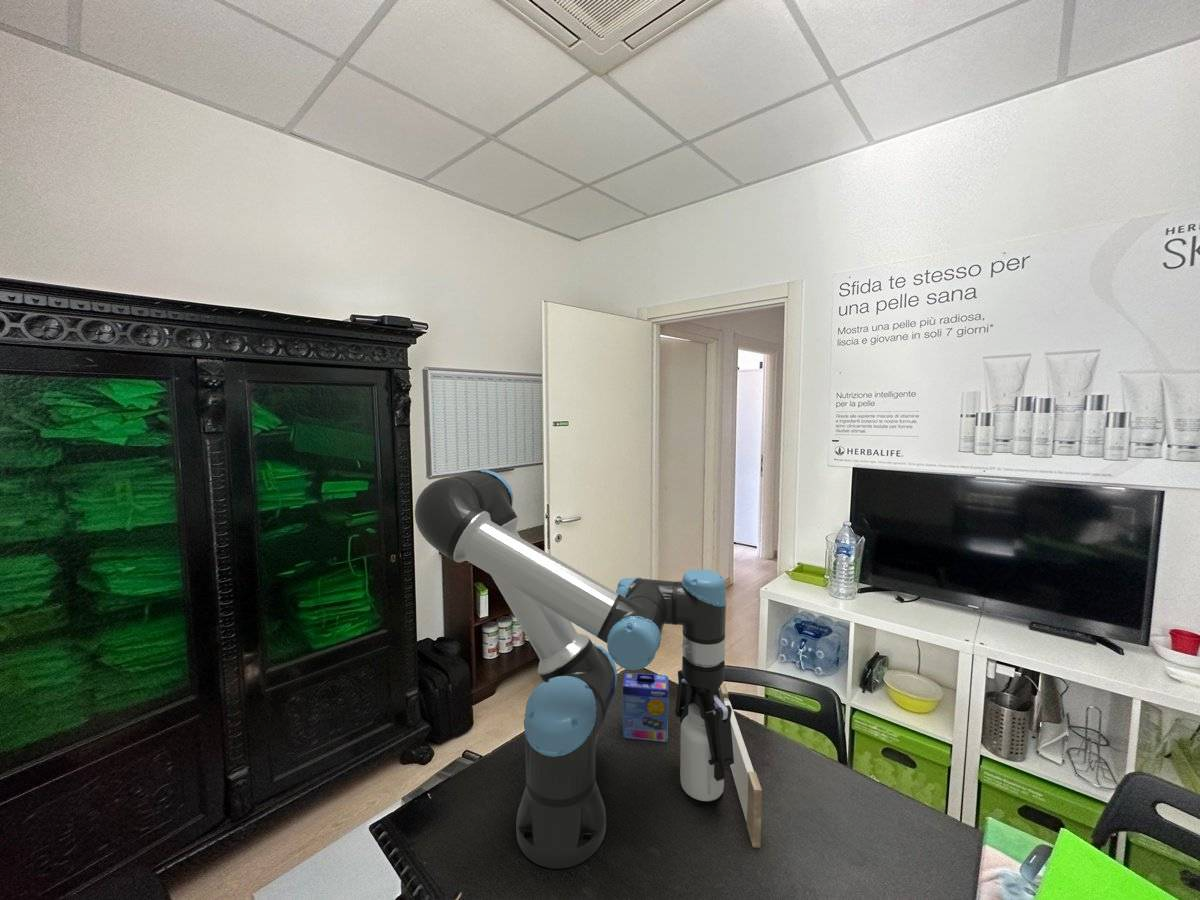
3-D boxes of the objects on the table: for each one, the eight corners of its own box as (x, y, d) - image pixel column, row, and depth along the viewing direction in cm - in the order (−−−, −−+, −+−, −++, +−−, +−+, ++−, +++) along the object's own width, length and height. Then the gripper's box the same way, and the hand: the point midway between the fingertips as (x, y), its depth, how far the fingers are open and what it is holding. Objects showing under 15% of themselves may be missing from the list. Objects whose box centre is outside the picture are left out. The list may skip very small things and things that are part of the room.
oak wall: (752, 847, 76) (754, 789, 75) (718, 726, 105) (719, 683, 104) (760, 847, 76) (762, 790, 75) (724, 726, 104) (725, 683, 104)
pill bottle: (720, 770, 91) (721, 696, 89) (727, 804, 83) (728, 724, 81) (678, 767, 91) (679, 694, 90) (681, 801, 83) (682, 721, 82)
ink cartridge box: (621, 739, 100) (621, 675, 99) (623, 722, 106) (623, 661, 105) (668, 743, 99) (669, 678, 98) (667, 726, 105) (668, 664, 103)
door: (746, 821, 80) (747, 772, 79) (722, 737, 101) (723, 697, 100) (753, 822, 80) (754, 772, 79) (727, 737, 100) (728, 697, 100)
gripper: (657, 635, 93) (657, 743, 95) (720, 694, 74) (718, 828, 76) (690, 628, 96) (689, 733, 98) (759, 683, 76) (756, 813, 78)
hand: (701, 774), depth 87 cm, fingers closed on pill bottle, 8 cm apart
